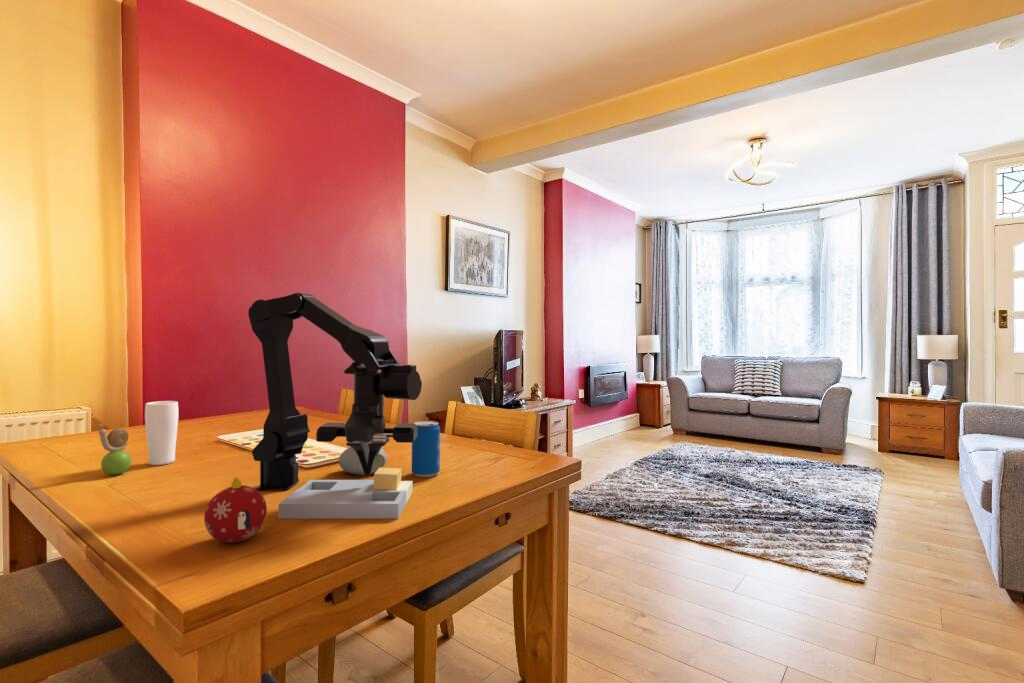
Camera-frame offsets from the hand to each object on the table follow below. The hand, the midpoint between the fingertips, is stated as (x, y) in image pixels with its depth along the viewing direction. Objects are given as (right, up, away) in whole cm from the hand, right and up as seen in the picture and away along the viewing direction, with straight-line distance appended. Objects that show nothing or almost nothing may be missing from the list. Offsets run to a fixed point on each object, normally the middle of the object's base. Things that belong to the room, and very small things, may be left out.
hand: (367, 475), depth 99 cm
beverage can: (+9, -5, +17) cm, 19 cm away
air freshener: (-6, -4, +18) cm, 20 cm away
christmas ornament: (-15, -5, -21) cm, 26 cm away
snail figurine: (-61, -4, +14) cm, 63 cm away
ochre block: (+4, -2, 0) cm, 4 cm away
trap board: (-2, -5, -3) cm, 6 cm away
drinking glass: (-58, -4, +24) cm, 62 cm away
